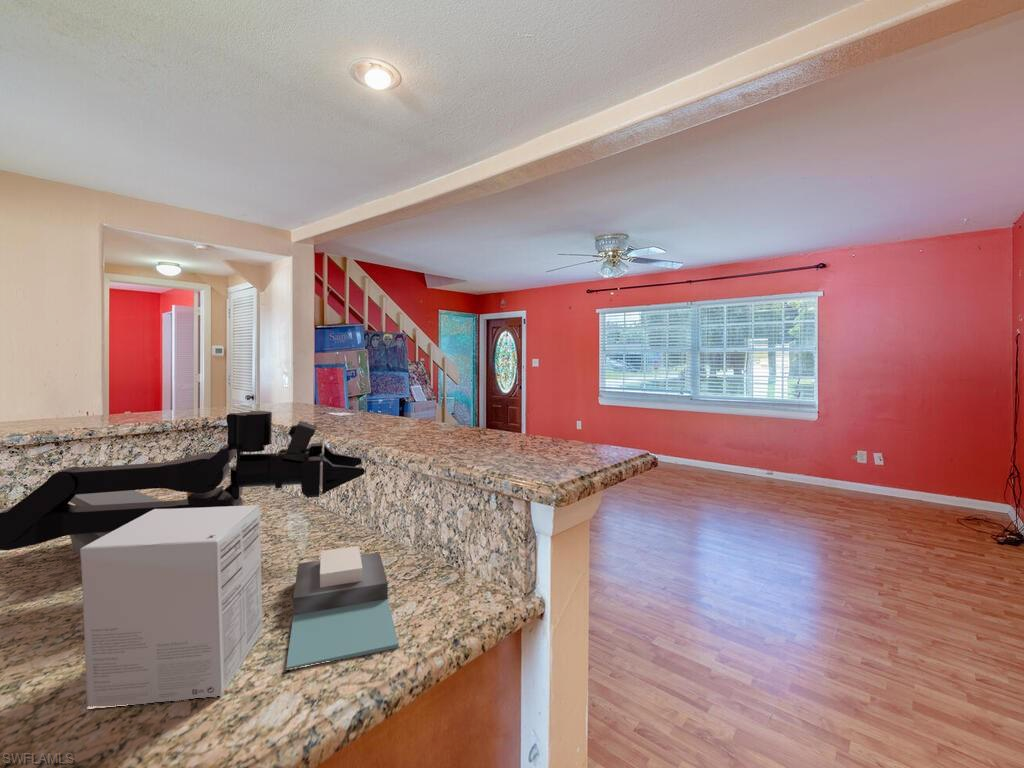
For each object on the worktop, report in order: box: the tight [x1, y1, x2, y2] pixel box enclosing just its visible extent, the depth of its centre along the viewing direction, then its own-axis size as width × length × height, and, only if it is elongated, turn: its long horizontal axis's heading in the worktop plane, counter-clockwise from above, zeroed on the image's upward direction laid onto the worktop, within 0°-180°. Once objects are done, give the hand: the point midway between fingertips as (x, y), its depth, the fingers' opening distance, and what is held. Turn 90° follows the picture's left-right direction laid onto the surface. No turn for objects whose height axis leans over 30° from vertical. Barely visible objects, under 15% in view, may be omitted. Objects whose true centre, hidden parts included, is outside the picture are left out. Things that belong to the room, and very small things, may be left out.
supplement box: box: [79, 504, 263, 707], centre depth 56 cm, size 13×13×18 cm
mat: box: [285, 598, 400, 670], centre depth 63 cm, size 13×12×1 cm
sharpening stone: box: [69, 490, 162, 557], centre depth 88 cm, size 25×8×11 cm, turn 57°
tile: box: [319, 545, 363, 587], centre depth 74 cm, size 6×9×2 cm, turn 21°
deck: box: [292, 551, 389, 615], centre depth 74 cm, size 13×12×3 cm
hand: (362, 465), depth 89 cm, fingers open, 9 cm apart
